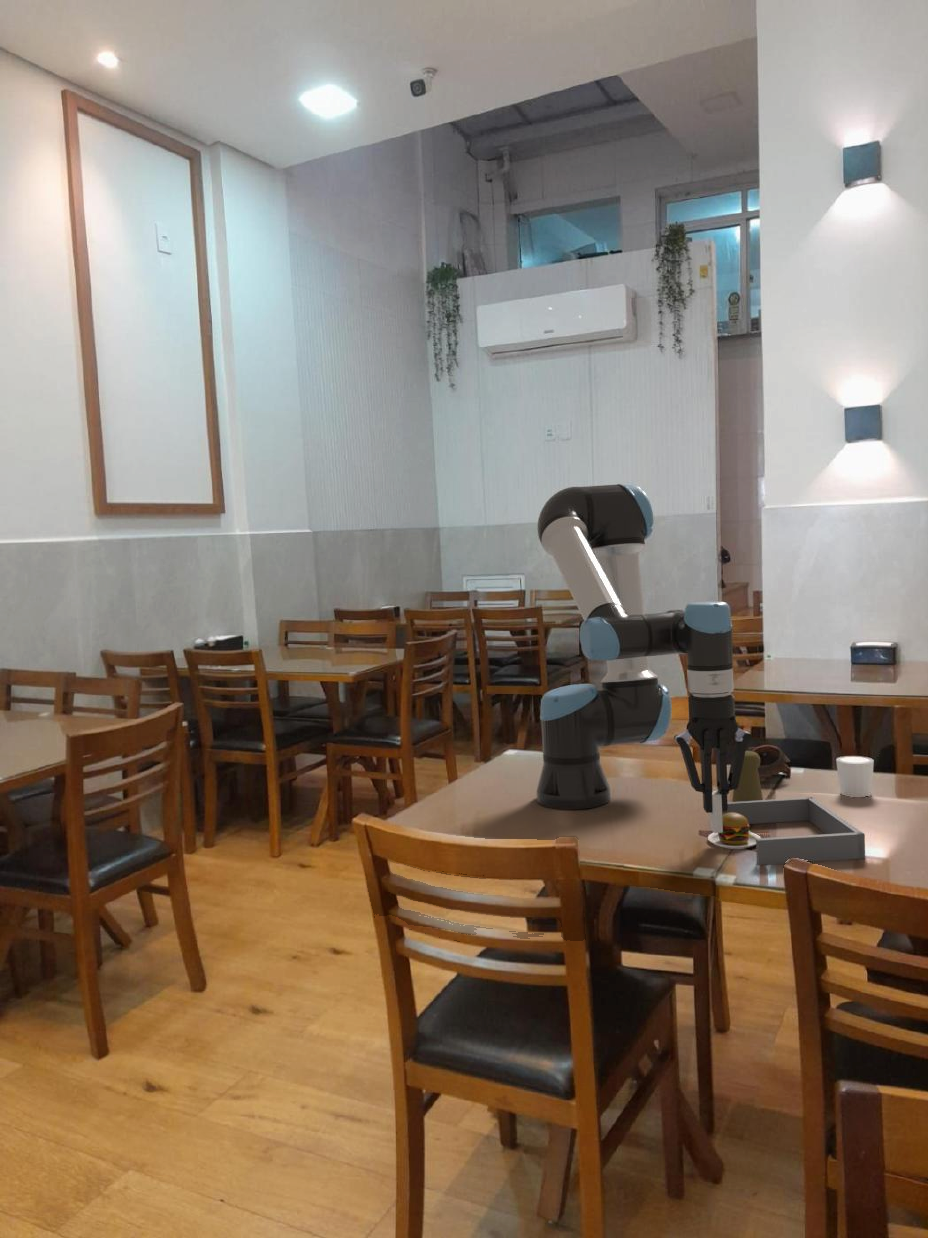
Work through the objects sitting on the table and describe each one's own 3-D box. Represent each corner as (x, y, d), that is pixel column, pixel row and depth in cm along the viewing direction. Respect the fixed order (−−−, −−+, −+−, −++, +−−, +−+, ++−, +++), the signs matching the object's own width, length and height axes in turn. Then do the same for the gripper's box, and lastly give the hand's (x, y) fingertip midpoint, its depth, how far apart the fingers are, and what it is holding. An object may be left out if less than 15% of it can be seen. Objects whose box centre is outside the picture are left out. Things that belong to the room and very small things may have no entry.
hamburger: (768, 834, 164) (767, 803, 163) (773, 857, 152) (772, 824, 152) (698, 833, 167) (697, 803, 166) (698, 855, 155) (697, 823, 155)
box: (719, 824, 169) (718, 802, 169) (812, 818, 170) (811, 797, 169) (758, 865, 148) (757, 840, 147) (865, 858, 148) (864, 834, 147)
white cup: (876, 799, 179) (875, 763, 179) (838, 798, 181) (837, 763, 181) (873, 789, 186) (872, 755, 185) (836, 789, 188) (835, 755, 187)
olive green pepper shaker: (766, 812, 175) (764, 755, 174) (732, 812, 176) (730, 755, 175) (762, 803, 181) (760, 748, 180) (730, 803, 182) (728, 748, 181)
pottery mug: (804, 780, 197) (797, 752, 194) (771, 805, 195) (763, 777, 191) (764, 757, 208) (756, 729, 204) (732, 780, 205) (724, 752, 202)
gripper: (677, 699, 153) (683, 839, 154) (756, 694, 153) (761, 835, 154) (667, 692, 160) (673, 826, 162) (742, 688, 160) (748, 822, 162)
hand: (716, 830), depth 158 cm, fingers closed
